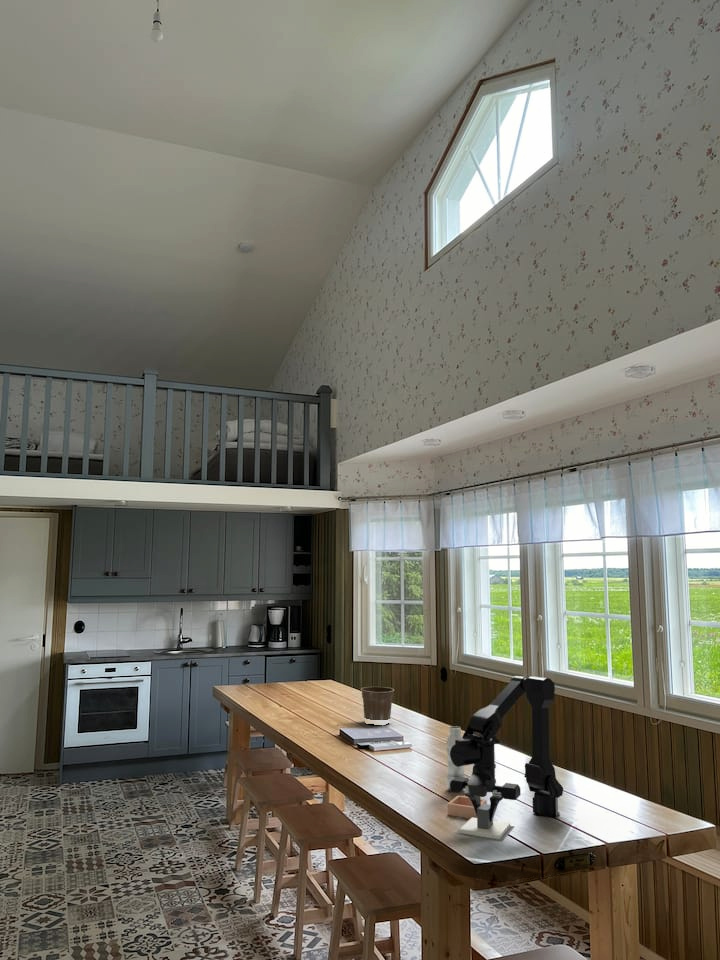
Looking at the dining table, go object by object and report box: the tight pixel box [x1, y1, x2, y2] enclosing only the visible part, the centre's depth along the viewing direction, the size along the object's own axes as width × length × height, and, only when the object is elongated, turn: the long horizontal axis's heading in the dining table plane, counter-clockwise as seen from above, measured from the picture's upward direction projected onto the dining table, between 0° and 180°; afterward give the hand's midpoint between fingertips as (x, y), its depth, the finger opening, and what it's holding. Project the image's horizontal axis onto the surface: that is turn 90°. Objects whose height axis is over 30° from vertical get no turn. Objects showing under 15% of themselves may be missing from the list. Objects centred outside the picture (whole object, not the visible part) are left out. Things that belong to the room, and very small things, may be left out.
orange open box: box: [447, 795, 487, 819], centre depth 213 cm, size 9×9×4 cm
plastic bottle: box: [445, 725, 466, 791], centre depth 239 cm, size 6×7×20 cm
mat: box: [454, 823, 515, 842], centre depth 199 cm, size 13×13×1 cm
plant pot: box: [360, 686, 395, 720], centre depth 347 cm, size 16×16×16 cm
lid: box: [459, 804, 511, 840], centre depth 199 cm, size 11×11×6 cm
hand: (485, 820), depth 199 cm, fingers closed on lid, 3 cm apart
